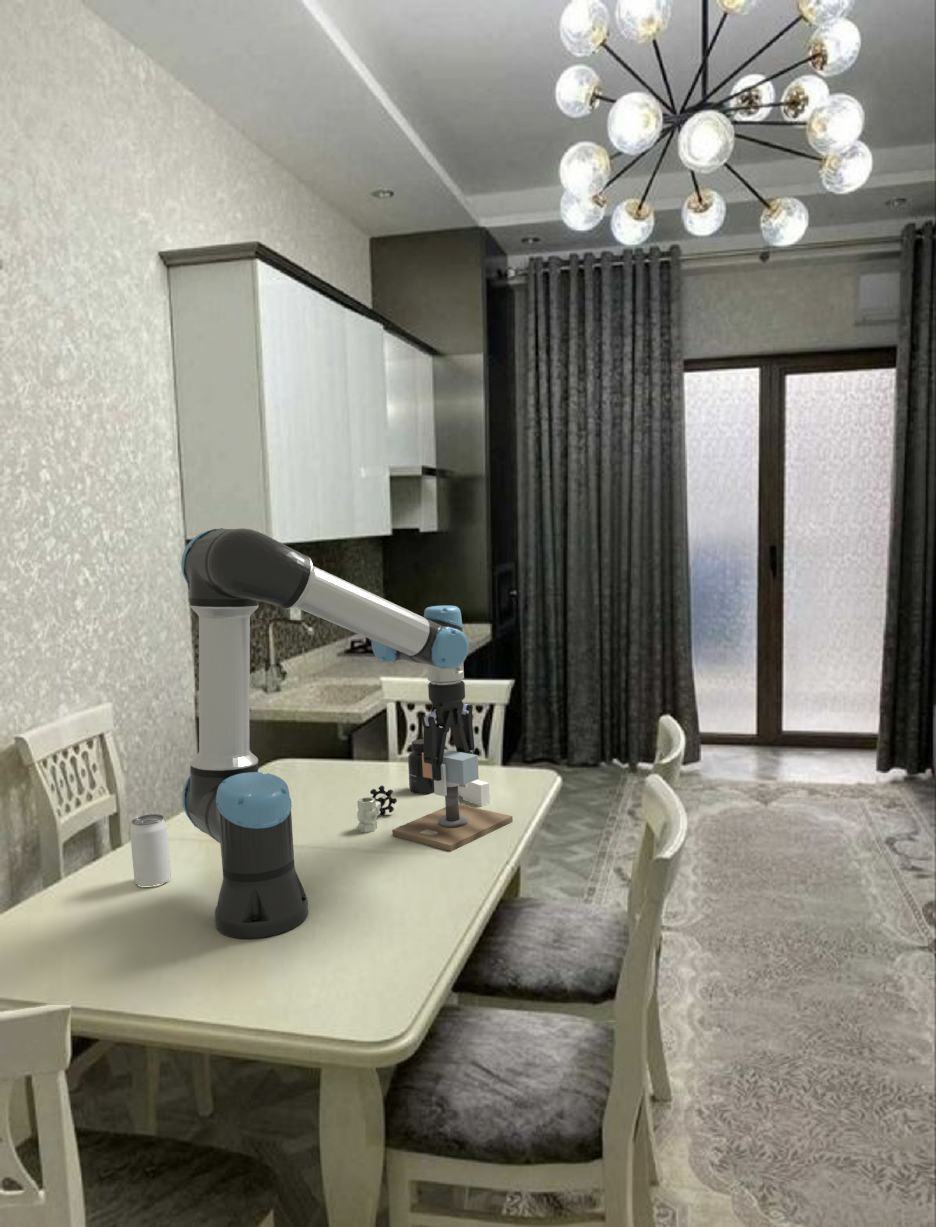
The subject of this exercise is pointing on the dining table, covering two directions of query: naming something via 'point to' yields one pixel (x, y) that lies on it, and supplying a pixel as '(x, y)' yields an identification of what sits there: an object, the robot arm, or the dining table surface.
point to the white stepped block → (475, 792)
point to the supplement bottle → (418, 770)
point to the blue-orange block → (456, 768)
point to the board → (452, 824)
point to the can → (150, 850)
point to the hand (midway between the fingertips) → (451, 790)
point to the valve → (373, 809)
